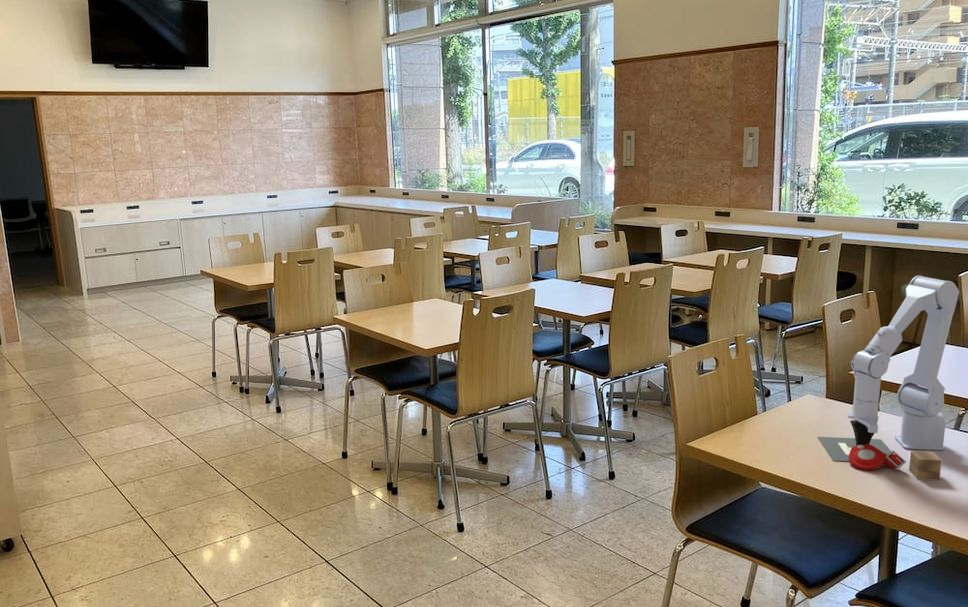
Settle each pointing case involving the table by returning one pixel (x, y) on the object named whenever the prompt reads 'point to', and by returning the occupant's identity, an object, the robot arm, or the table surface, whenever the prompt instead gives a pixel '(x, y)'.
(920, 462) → the walnut cube
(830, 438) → the letter mat
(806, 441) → the table surface
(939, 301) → the robot arm
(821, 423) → the table surface
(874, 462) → the tracker holder
